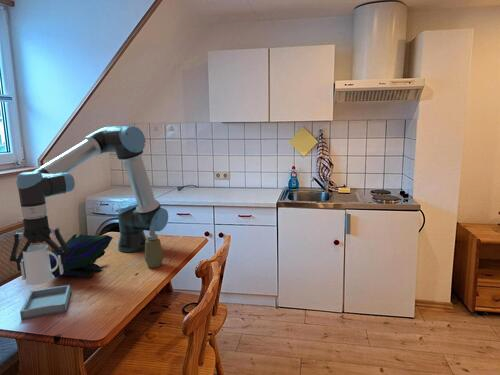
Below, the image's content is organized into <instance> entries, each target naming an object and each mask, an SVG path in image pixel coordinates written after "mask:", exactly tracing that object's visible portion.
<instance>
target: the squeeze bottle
mask: <svg viewBox="0 0 500 375" xmlns="http://www.w3.org/2000/svg"><path fill="white" fill-rule="evenodd" d="M148 232H149V234H147V235H146V238H147V240H146V241H145V249H144V254H145V255H144V260H145V263H146V266H147V267H148V268H150V269H154V268H158V267H161V266H162V264H163V260H164V254H163V250H162V249H163V248H162V244H161V239H160V238H159V237H158V234H157V233H156V231H154V229H153V227H150V231H148Z"/></svg>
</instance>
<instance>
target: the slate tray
mask: <svg viewBox="0 0 500 375" xmlns="http://www.w3.org/2000/svg"><path fill="white" fill-rule="evenodd" d="M71 288H72V287H71V284H67V285H60V286H59V285H58V286H53V287H48V288H42V289H36V290H31V291H30V292H29V293H28V295H27V297H26V299H25V301H24V303H23V306H22V307H21V309H20V312H19V313H20V320H21V321H23V320H29V319H35V318H40V317H45V316H50V315H51V316H52V315H56V314H57V315H58V314H62V313H66V312H67V308H68V305H69V301H70V297H71V293H72V289H71Z"/></svg>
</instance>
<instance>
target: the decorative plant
mask: <svg viewBox="0 0 500 375" xmlns="http://www.w3.org/2000/svg"><path fill="white" fill-rule="evenodd" d="M77 235H78V233H77V234H73V235H72V236H71V237H70V238H69V239H68V240H67V241H65V243H66V245H67V246H68V248H69V250H70V251H69V253H68V254H66V255H65V264H64V265H63V274H61V275H60V269H59V264H58V267H57V269H56V270H55V271H53V272H52V275H53V278H59V277H62V276H64V275H69V276H70V275H71V276H77V277H78V276H79V277H82V278H88V279H92V278H93V277H94V275H91V274H90V272H95V271H96V272H100V271H101V270H103V268H104V267H102V266H100V265H98V264H96V261H97V260H98V259H100V258H102V257H103V256H104V255H105V254H106V251H105V250H106V249H107V248H108V246H109V244H110V243H111V242H112V240H113V238H114V237H112V236H110V235H108V234H102V235H90V234H83V233H80V234H79V235H78V236H77ZM59 247H60V248H61V249H62V250H63V248H62V247H61V245H60V246H59ZM63 251H64V250H63ZM50 252H53V253H54V254H55V255H56V256H57V258H58V256H59V254H58V253H57V252H56V251H55V250H54V249H52V250H50ZM49 257H50V265H51V269H54V268H55V267H56V265H57V261H56V258H55V257H54V256H53V255H51V254H49Z"/></svg>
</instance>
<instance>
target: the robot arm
mask: <svg viewBox="0 0 500 375" xmlns="http://www.w3.org/2000/svg"><path fill="white" fill-rule="evenodd" d="M145 146H146V136H145V134H144V133H143V131H142V130H141V128H139V127H137V126H135V125H113V126H112V125H111V126H110V125H109V126H107V125H106V126H103V127H102V128H99V129H97V130H96V131H94V132H92V133H90V134H88V135H86V136H85V137H84V138H83V139H82V141H81V142H80V143H78V144H76V145H74V146H73V147H71V148H70V149H68V150H65V152H62V153H61V154H60V155H58V156H57V157H55V158H53V159H51V160H50V161H48V162H46V163H45V164H43V165H41V166H39V167H38V168H36V169H34V170H33V171H26V172H25V171H24V172H21V173H18V174H17V176H16V187H17V189H18V197H19V203H20V204H19V205H20V209H21V217H22V218H23V219H22V223H23V229H24V230H23V232H19V231H18V232H15V233H14V236H13V237H14V238H13V239H14V243H13V246H12V250H11V253H10V257H9V261H10V262H11V263H12V262H14V263H16V268H17V271H18V272H20V271H21V272H20V273H21V278H22V281H26V275H25V268H24V261H23V251H24V252H26V251H27V249H28V247H29V246H31V243H32V244H38V243H40V244H41V243H44V242H45V243H46V245H48V247H50V248H52V250H55V251H56V252H57V253H58V254H59V256H58V261H59V269H60V275H61V274H63V265H64V264H65V255H66V254H68V253H69V251H70V250H69V248H68V246H67V245H66V241H65V239H64V237H63V235H62V234H61V231H60V228H59V227H56V228H50V226H49V225H50V224H49V218H48V215H47V214H48V208H47V202H46V198H47V197H52V196H56V195H58V196H59V195H61V194H67V193H69V192H72V191H73V190H74V189H75V186H76V184H75V178H74V176H73V175H72V173H70V172H72V171H73V170H74V169H75V168H77V167H79V166H81V165H82V164H83V163H85V162H86V161H88V160H90V159H91V158H92V157H98V156H100V155H101V154H105V153H115V154H116V157H117V160H120V161H122V163H123V167H124V170H125V173H126V175H127V179H128V181H129V184H130V188H131V190H132V192H133V196H134V200H135V202H131V203H130V202H129V203H126V204H122V205H119V207H118V208H117V217H118V218H117V219H118V226H119V237H118V238H119V240H118V243H117V250H118V252H121V253H135V252H136V253H137V252H140V251H143V250H145V241H146V240H147V235H146V234H145V231H148V232H150V227H153V229H154V232H161V231H163V230H164V229H165V228H166V227H167V225H168V221H169V211H168V210H167V209H165V208H164V207H161V206H162V205H161V204H160V202H159V200H156V198H155V195H154V192H153V190H152V189H153V188H152V186H151V183H150V180H149V176H148V174H147V170H146V166H145V164H144V160H143V158H142V157H143V156H142V155H143V154H144V149H145ZM51 233H52V234H53V235H54V237H55V239H56V240H57V241H58V243H59V245H60V246H61V247H62V248H63V250H64V251H63V250H62V249H61V248H60V246H59V245H58V244H57V243H56V242H55V241H54V240H53V239H52V238H51V237H50V234H51ZM23 237H24V238H25V239H26V240H27V241H26V242H25V245H24V246H23V247H22V250H21V251H20V253H19V254H18V256H17V253H18V250H19V247H20V246H19V245H20V243H21V239H22V238H23Z"/></svg>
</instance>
